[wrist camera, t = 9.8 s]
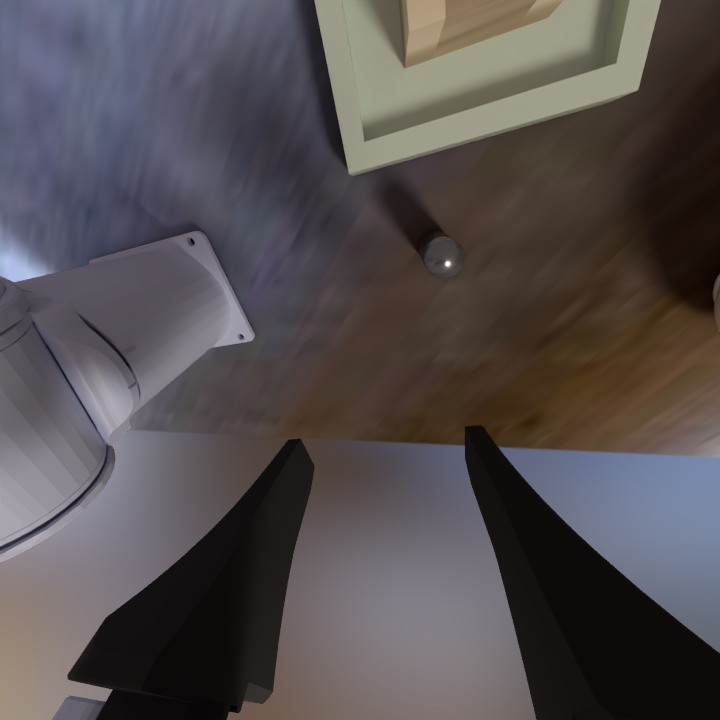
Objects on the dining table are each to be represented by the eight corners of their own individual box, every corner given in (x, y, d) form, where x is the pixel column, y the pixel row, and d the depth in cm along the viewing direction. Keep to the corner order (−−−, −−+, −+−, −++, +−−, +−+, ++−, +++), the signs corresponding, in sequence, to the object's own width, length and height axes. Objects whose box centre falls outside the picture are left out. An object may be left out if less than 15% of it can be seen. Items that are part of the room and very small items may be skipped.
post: (419, 264, 16) (427, 282, 13) (416, 233, 15) (424, 244, 12) (449, 258, 16) (464, 275, 12) (447, 226, 15) (464, 235, 12)
